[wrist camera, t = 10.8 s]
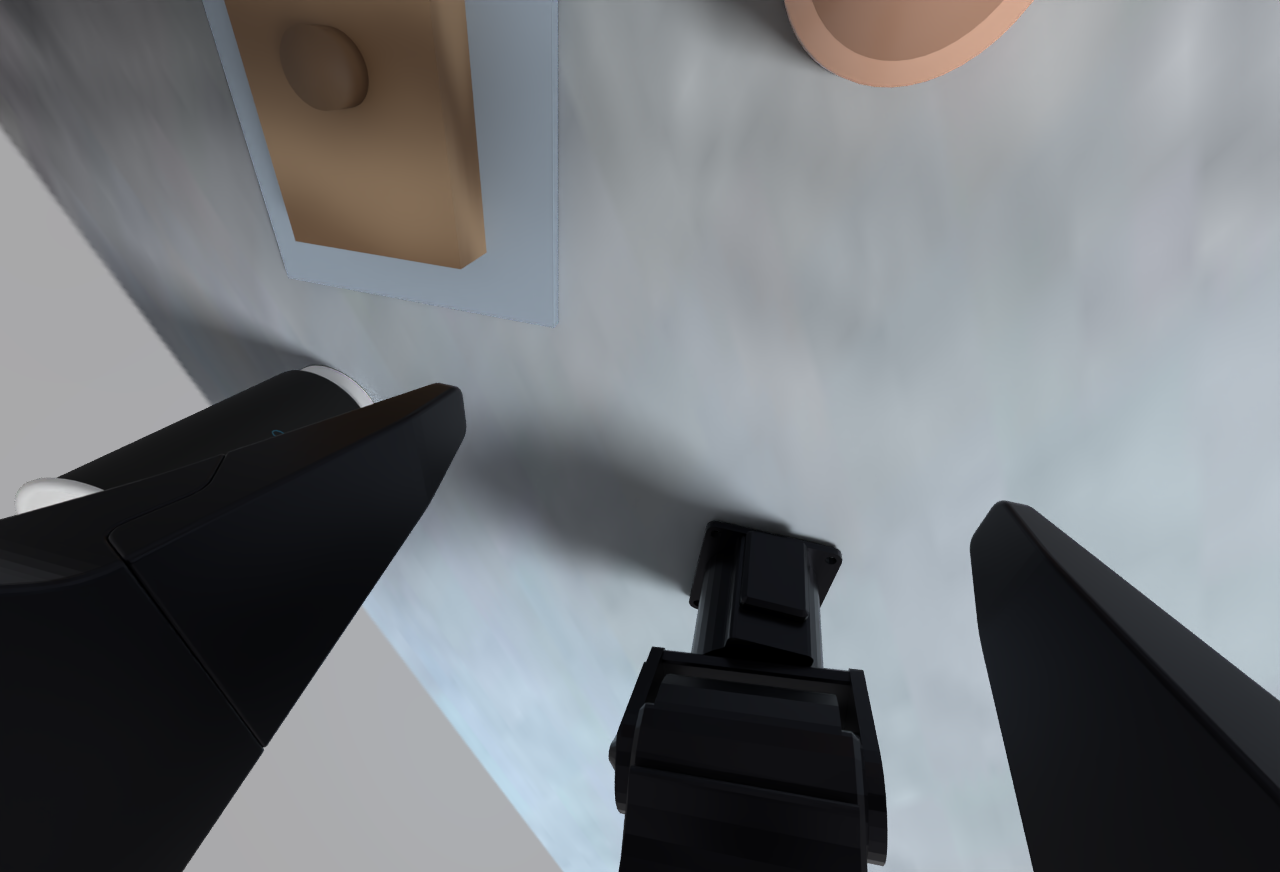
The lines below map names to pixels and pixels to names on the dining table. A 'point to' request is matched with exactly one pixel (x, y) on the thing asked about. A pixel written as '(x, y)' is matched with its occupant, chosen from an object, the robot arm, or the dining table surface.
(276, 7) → the lid
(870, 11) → the ramekin
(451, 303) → the mat
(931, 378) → the dining table surface
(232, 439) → the dixie cup
